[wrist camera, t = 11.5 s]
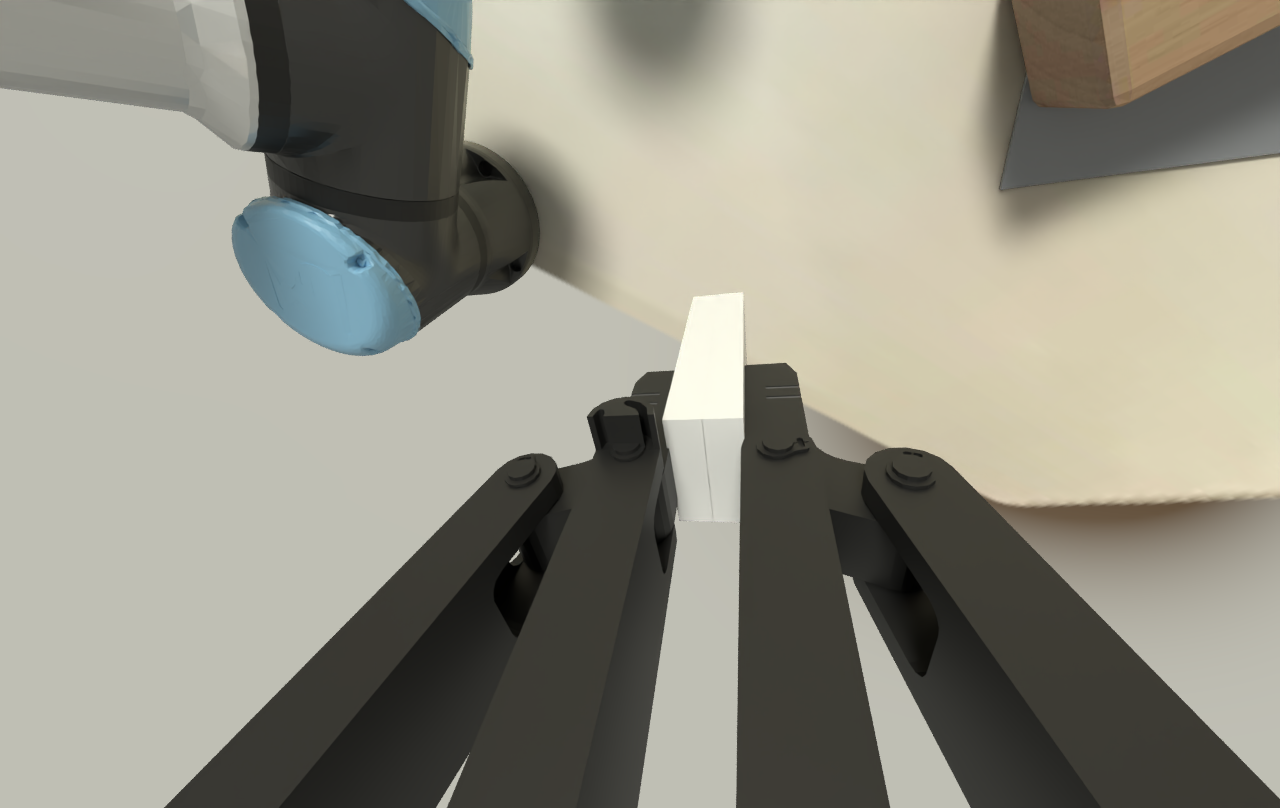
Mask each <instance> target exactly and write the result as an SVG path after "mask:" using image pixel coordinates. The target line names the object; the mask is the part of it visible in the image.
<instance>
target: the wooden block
mask: <svg viewBox="0 0 1280 808" xmlns="http://www.w3.org/2000/svg"><path fill="white" fill-rule="evenodd" d="M1011 1H1012V6H1013V10H1014V15H1015V20H1016V25H1017V29H1018V34H1019V39H1020V43H1021V48H1022V53H1023V58H1024V62H1025V67H1026V72H1027V76H1028V81H1029V86H1030V91H1031V95H1032V100H1033V101H1034V102H1035V103H1036V104H1037V105H1038V106H1039V107H1055V108H1092V109H1110V108H1115V107H1121V106H1124V105H1126V104H1128V103H1130V102H1132V101H1134V100H1136V99H1138V98H1140V97H1142V96H1144V95H1146V94H1148V93H1149V92H1151V91H1153V90H1155V89H1157V88H1159V87H1161V86H1163V85H1165V84H1167V83H1169V82H1171V81H1173V80H1175V79H1177V78H1179V77H1181V76H1183V75H1185V74H1186V73H1188V72H1190V71H1192V70H1194V69H1196V68H1198V67H1200V66H1202V65H1204V64H1206V63H1208V62H1210V61H1212V60H1214V59H1216V58H1218V57H1220V56H1222V55H1224V54H1225V53H1227V52H1229V51H1231V50H1233V49H1235V48H1237V47H1239V46H1241V45H1243V44H1245V43H1247V42H1249V41H1251V40H1253V39H1255V38H1257V37H1259V36H1261V35H1262V34H1264V33H1266V32H1268V31H1270V30H1272V29H1274V28H1276V27H1278V26H1280V0H1011Z"/></svg>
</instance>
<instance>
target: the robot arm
mask: <svg viewBox="0 0 1280 808" xmlns="http://www.w3.org/2000/svg"><path fill="white" fill-rule="evenodd" d="M471 30H472V0H0V88H4V89H11V90H19V91H27V92H34V93H42V94H50V95H57V96H65V97H73V98H81V99H88V100H96V101H104V102H112V103H119V104H127V105H134V106H142V107H149V108H157V109H165V110H173V111H180V112H184V113H185V114H187V115H189V116H191V117H193V118H195V119H196V120H198V121H199V122H200V123H202V124H203V125H204V126H205V127H207V128H208V129H209V130H210V131H212V132H213V133H214V134H216V135H217V136H218V137H219V138H221V139H222V140H223V141H225V142H226V143H227V144H228V145H230V146H231V147H232V148H234V149H238V150H243V151H252V152H263V153H264V154H265V161H266V167H267V174H268V181H269V187H270V197H262V198H258V199H255V200H253V201H252V202H251V203H249V205H248V206H247V207H245V208H244V210H243V213H242V214H240V215H238V216H237V217H236V218H235V221H234V223H233V226H232V244H233V249H234V253H235V256H236V259H237V261H238V264H239V266H240V268H241V271H242V272H243V274H244V276H245V278H246V280H247V281H248V283H249V284H250V286H251V287H252V288H253V290H254V291H255V293H256V294H257V295H258V296H259V298H260V299H261V300H262V301H263V302H264V303H265V305H266V306H267V307H268V308H269V309H270V310H272V311H273V312H274V313H275V314H277V315H278V316H279V318H280V319H281V320H282V321H283V322H284V323H286V324H287V325H288V326H289V327H291V328H292V329H293V330H295V331H296V332H298V333H299V334H300V335H302V336H304V337H305V338H307V339H309V340H311V341H312V342H314V343H316V344H318V345H320V346H322V347H325V348H328V349H330V350H333V351H336V352H339V353H343V354H348V355H356V356H366V355H375V354H378V353H382V352H384V351H386V350H388V349H390V348H392V347H393V346H395V345H397V344H398V343H400V342H403V341H406V340H410V339H411V338H413V337H414V336H415V335H416V334H417V332H418V331H420V330H421V329H422V328H423V327H425V326H426V325H428V324H429V323H430V322H432V321H433V320H435V319H436V318H437V317H439V316H440V315H441V314H443V313H444V312H445V311H447V310H448V309H449V308H451V307H452V306H453V305H455V304H456V303H457V302H459V301H460V300H461V299H463V298H464V297H466V296H467V295H481V294H490V293H495V292H498V291H501V290H503V289H505V288H507V287H509V286H510V285H512V284H513V283H514V282H516V281H517V280H518V279H520V278H521V277H522V276H523V275H524V274H525V273H526V272H527V271H528V269H529V268H530V266H531V265H532V263H533V261H534V259H535V256H536V253H537V249H538V244H539V221H538V216H537V211H536V208H535V205H534V202H533V199H532V197H531V195H530V193H529V191H528V189H527V187H526V185H525V184H524V182H523V181H522V179H521V178H520V176H519V175H518V174H517V172H516V171H515V170H514V169H513V168H512V167H511V166H510V165H509V164H508V163H507V162H506V161H505V160H504V159H503V158H501V157H500V156H499V155H497V154H496V153H494V152H493V151H491V150H489V149H488V148H486V147H484V146H481V145H479V144H476V143H473V142H468V141H464V129H465V116H466V104H467V91H468V79H469V69H470V70H472V69H473V58H472V55H471ZM587 419H588V423H589V426H590V430H591V433H592V437H593V441H594V444H595V448H596V452H595V454H594V456H593V459H592V460H589V461H586V462H583V463H580V464H576V465H571V466H567V467H563V468H558V467H557V465H556V463H555V461H554V460H553V459H552V458H551V457H550V456H547V455H544V454H527V455H523V456H519V457H517V458H515V459H513V460H510V461H508V462H507V463H506V464H504V465H503V466H502V467H501V468H499V469H498V470H497V471H496V472H495V473H494V474H493V475H492V476H491V477H490V478H489V479H488V480H487V481H486V482H485V483H484V484H483V485H482V486H481V487H480V488H479V489H478V490H477V491H476V492H475V493H474V494H473V495H472V496H471V497H470V498H469V499H468V500H467V501H466V502H465V504H463V505H462V506H461V507H460V508H459V510H457V511H456V512H455V513H454V515H452V517H451V518H450V519H449V520H448V521H447V522H446V523H445V524H444V525H443V526H442V527H441V528H440V529H439V530H438V531H437V532H436V533H435V534H434V535H433V536H432V537H431V538H430V539H429V540H428V541H427V542H426V543H425V544H424V545H423V546H422V547H421V548H420V549H419V550H418V551H417V552H416V553H415V554H414V555H413V556H412V557H411V558H410V559H409V560H408V561H407V562H406V563H405V564H404V565H403V566H402V567H401V568H400V569H399V570H398V571H397V572H396V573H395V574H394V575H393V576H392V577H391V578H390V579H389V580H388V581H387V582H386V583H385V585H384V586H383V587H381V588H380V589H379V591H378V592H377V593H376V594H375V595H374V596H373V597H372V598H371V599H370V600H369V601H368V602H367V603H366V604H365V605H364V606H363V607H362V608H361V609H360V610H359V611H358V612H357V613H356V614H355V615H354V616H353V617H352V618H351V619H350V620H349V621H348V622H347V623H346V624H345V625H344V626H343V627H342V628H341V629H340V630H339V631H338V632H337V633H336V634H335V635H334V636H333V637H332V638H331V639H330V640H329V641H328V642H327V643H326V644H325V645H324V646H323V647H322V648H321V649H320V650H319V651H318V653H316V654H315V655H314V656H313V657H312V658H311V659H310V660H309V662H308V663H306V664H305V666H304V667H303V668H302V669H301V670H300V671H299V672H298V673H297V674H296V675H295V676H294V677H293V678H292V679H291V680H290V681H289V682H288V683H287V684H286V685H285V686H284V687H283V688H282V689H281V690H280V691H279V692H278V693H277V694H276V695H275V696H274V697H273V698H272V699H271V700H270V701H269V702H268V703H267V704H266V705H265V706H264V707H263V708H262V709H261V710H260V711H259V712H258V713H257V714H256V715H255V716H254V717H253V718H252V719H251V720H250V721H249V722H248V723H247V724H246V725H245V726H244V727H243V728H242V729H241V731H239V732H238V733H237V734H236V735H235V737H234V738H233V739H232V740H231V741H230V742H229V743H228V744H227V745H226V746H225V747H224V748H223V749H222V750H221V751H220V752H219V753H218V754H217V755H216V756H215V757H214V758H213V759H212V760H211V761H210V762H209V763H208V764H207V765H206V766H205V767H204V768H203V769H202V770H201V771H200V772H199V773H198V774H197V775H196V776H195V777H194V778H193V779H192V780H191V781H190V782H189V783H188V784H187V785H186V786H185V787H184V788H183V789H182V790H181V791H180V792H179V793H178V794H177V795H176V796H175V797H174V798H173V799H172V800H171V802H169V803H168V804H167V806H166V807H164V808H436V806H437V805H438V803H439V802H440V800H441V798H442V797H443V795H444V794H445V792H446V790H447V789H448V787H449V786H450V784H451V782H452V781H453V779H454V777H455V776H456V774H457V772H458V771H459V769H460V768H461V766H462V764H463V763H464V761H465V759H466V758H467V756H468V755H469V756H468V759H467V761H466V764H465V766H464V768H463V771H462V773H461V776H460V778H459V780H458V783H457V785H456V788H455V790H454V792H453V795H452V797H451V800H450V802H449V804H448V807H447V808H637V806H638V800H639V793H640V786H641V779H642V773H643V766H644V759H645V752H646V745H647V739H648V732H649V725H650V719H651V712H652V705H653V698H654V692H655V685H656V678H657V671H658V665H659V658H660V650H661V644H662V637H663V631H664V624H665V617H666V610H667V603H668V597H669V589H670V584H671V577H672V570H673V563H674V557H675V550H676V543H677V538H676V530H675V524H674V520H675V514H676V508H677V510H678V515H679V520H680V521H702V522H739V523H740V561H739V562H740V563H739V564H740V565H739V638H738V716H737V717H738V718H737V719H738V720H737V722H738V723H737V724H738V725H737V794H736V795H737V796H736V808H890V805H889V800H888V795H887V790H886V785H885V780H884V775H883V771H882V765H881V761H880V756H879V751H878V746H877V741H876V737H875V731H874V726H873V721H872V716H871V712H870V707H869V702H868V697H867V692H866V687H865V682H864V677H863V672H862V668H861V663H860V658H859V653H858V648H857V643H856V638H855V633H854V628H853V623H852V619H851V614H850V609H849V604H848V599H847V594H846V589H845V584H844V579H843V574H844V575H847V576H850V577H853V580H854V584H855V586H856V588H857V590H858V591H859V593H860V595H861V597H862V599H863V601H864V603H865V605H866V607H867V609H868V611H869V612H870V615H871V617H872V618H873V620H874V622H875V624H876V626H877V628H878V630H879V632H880V634H881V636H882V638H883V640H884V641H885V643H886V645H887V647H888V649H889V651H890V653H891V655H892V657H893V659H894V661H895V663H896V665H897V666H898V668H899V670H900V672H901V674H902V676H903V678H904V680H905V682H906V684H907V686H908V688H909V690H910V692H911V693H912V695H913V697H914V699H915V701H916V703H917V705H918V707H919V709H920V711H921V713H922V715H923V716H924V719H925V720H926V722H927V724H928V726H929V728H930V730H931V732H932V734H933V736H934V738H935V740H936V742H937V744H938V745H939V747H940V749H941V751H942V753H943V755H944V757H945V759H946V761H947V763H948V765H949V767H950V768H951V770H952V772H953V774H954V776H955V778H956V780H957V782H958V784H959V786H960V788H961V790H962V792H963V793H964V795H965V797H966V799H967V801H968V803H969V805H970V807H971V808H1280V799H1279V798H1278V797H1277V796H1276V795H1275V794H1274V793H1273V792H1272V791H1271V790H1270V789H1269V788H1268V787H1267V786H1266V785H1265V784H1264V783H1263V782H1262V781H1261V779H1259V777H1258V776H1257V775H1256V774H1255V773H1254V772H1253V771H1252V770H1250V768H1249V767H1248V766H1247V765H1246V764H1245V763H1244V762H1243V761H1242V760H1241V759H1240V758H1239V757H1238V756H1237V755H1236V754H1235V753H1234V752H1233V751H1232V750H1231V749H1230V748H1229V747H1228V746H1227V745H1226V744H1225V743H1224V742H1223V741H1222V740H1221V739H1220V738H1219V737H1218V736H1217V735H1216V734H1215V733H1214V732H1213V731H1212V730H1211V729H1210V728H1209V727H1208V726H1207V725H1206V724H1205V723H1204V722H1203V721H1202V720H1201V719H1200V718H1199V717H1198V716H1197V715H1196V713H1195V712H1194V711H1193V710H1192V709H1191V708H1190V707H1189V706H1188V705H1187V704H1186V703H1185V702H1184V701H1183V700H1182V699H1181V698H1180V697H1179V696H1178V695H1177V694H1176V693H1175V692H1174V691H1173V690H1172V689H1171V688H1170V687H1169V686H1168V685H1167V684H1166V683H1165V682H1164V681H1163V680H1162V679H1161V678H1160V677H1159V676H1158V675H1157V674H1156V673H1155V672H1154V671H1153V670H1152V669H1151V668H1150V667H1149V666H1148V665H1147V664H1146V663H1145V662H1144V661H1143V660H1142V659H1141V658H1140V657H1139V656H1138V655H1137V654H1136V653H1135V652H1134V651H1133V649H1132V648H1131V647H1129V646H1128V644H1127V643H1126V642H1125V641H1124V640H1123V639H1122V638H1121V637H1120V636H1119V635H1118V634H1117V633H1116V632H1115V631H1114V630H1113V629H1112V628H1111V627H1110V626H1109V625H1108V624H1107V623H1106V622H1105V621H1104V620H1103V619H1102V618H1101V617H1100V616H1099V615H1098V614H1097V613H1096V612H1095V611H1094V610H1093V609H1092V608H1091V607H1090V606H1089V605H1088V604H1087V603H1086V602H1085V601H1084V600H1083V599H1082V598H1081V597H1080V596H1079V595H1078V594H1077V593H1076V592H1075V591H1074V590H1073V589H1072V588H1071V587H1070V586H1069V584H1068V583H1066V582H1065V580H1064V579H1062V577H1061V576H1060V575H1059V574H1058V573H1057V572H1056V571H1055V570H1054V569H1053V568H1052V567H1051V566H1050V565H1049V564H1048V563H1047V562H1046V561H1045V560H1044V559H1043V558H1042V557H1041V556H1040V555H1039V554H1038V553H1037V552H1036V551H1035V550H1034V549H1033V548H1032V547H1031V546H1030V545H1029V544H1028V543H1027V542H1026V541H1025V540H1024V539H1023V538H1022V537H1021V536H1020V535H1019V534H1018V533H1017V532H1016V531H1015V530H1014V529H1013V528H1012V527H1011V526H1010V525H1009V524H1008V523H1007V522H1006V520H1005V519H1004V518H1003V517H1002V516H1001V515H1000V514H999V513H998V512H997V511H996V510H995V509H994V508H993V507H992V506H991V505H990V504H988V502H987V501H986V500H985V499H984V498H983V497H982V496H981V495H980V494H979V493H978V492H977V491H976V490H975V489H974V488H973V487H972V486H971V485H970V484H969V483H968V482H967V481H966V480H965V479H964V478H963V477H962V476H961V475H960V474H959V473H958V472H957V471H956V470H955V469H954V468H953V467H952V466H951V465H949V464H948V463H947V462H945V461H944V460H943V459H941V458H940V457H937V456H935V455H933V454H930V453H928V452H925V451H922V450H916V449H911V448H888V449H885V450H882V451H879V452H875V453H874V454H873V455H872V456H870V457H869V458H868V459H867V461H866V464H860V463H856V462H851V461H846V460H843V459H839V458H835V457H833V456H830V455H829V454H826V453H824V452H823V451H821V450H820V449H819V448H817V447H816V445H815V444H814V442H813V440H812V438H810V437H809V435H808V430H807V424H806V419H805V414H804V409H803V403H802V398H801V393H800V388H799V383H798V377H797V373H796V372H795V371H794V370H793V369H792V368H791V367H790V366H789V365H787V364H786V363H776V364H759V365H747V357H746V336H745V315H744V293H743V292H739V293H728V294H718V295H707V296H697V297H693V301H692V305H691V309H690V313H689V317H688V321H687V325H686V329H685V332H684V336H683V340H682V344H681V348H680V352H679V356H678V361H677V364H676V368H675V371H659V372H647V373H646V374H645V375H644V376H643V377H641V378H640V379H639V380H638V381H637V382H636V384H635V386H634V389H633V391H632V396H631V397H622V398H616V399H613V400H609V401H607V402H604V403H602V404H600V405H599V406H597V407H595V408H594V409H593V410H592V411H591V412H590V413H589V415H588V416H587ZM518 549H519V552H520V554H519V555H518V556H517V557H516V558H515V559H514V560H513V561H512V562H510V563H509V561H510V560H511V558H512V557H513V556H514V555H515V553H516V552H517V551H518ZM469 753H470V754H469Z"/></svg>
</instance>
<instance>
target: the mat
mask: <svg viewBox="0 0 1280 808" xmlns="http://www.w3.org/2000/svg"><path fill="white" fill-rule="evenodd" d="M1277 153H1280V26H1278V27H1276V28H1274V29H1272V30H1270V31H1268V32H1266V33H1264V34H1262V35H1261V36H1259V37H1257V38H1255V39H1253V40H1251V41H1249V42H1247V43H1245V44H1243V45H1241V46H1239V47H1237V48H1235V49H1233V50H1231V51H1229V52H1227V53H1225V54H1224V55H1222V56H1220V57H1218V58H1216V59H1214V60H1212V61H1210V62H1208V63H1206V64H1204V65H1202V66H1200V67H1198V68H1196V69H1194V70H1192V71H1190V72H1188V73H1186V74H1185V75H1183V76H1181V77H1179V78H1177V79H1175V80H1173V81H1171V82H1169V83H1167V84H1165V85H1163V86H1161V87H1159V88H1157V89H1155V90H1153V91H1151V92H1149V93H1148V94H1146V95H1144V96H1142V97H1140V98H1138V99H1136V100H1134V101H1132V102H1130V103H1128V104H1126V105H1124V106H1121V107H1115V108H1110V109H1092V108H1055V107H1039V106H1038V105H1037V104H1036V103H1035V102H1034V101H1033V100H1032V95H1031V91H1030V86H1029V81H1028V76H1027V72H1026V76H1025V80H1024V84H1023V89H1022V93H1021V97H1020V102H1019V106H1018V110H1017V115H1016V119H1015V123H1014V127H1013V132H1012V136H1011V140H1010V145H1009V149H1008V153H1007V158H1006V162H1005V166H1004V170H1003V175H1002V179H1001V183H1000V188H999V189H1000V190H1003V189H1011V188H1019V187H1026V186H1034V185H1041V184H1049V183H1057V182H1064V181H1072V180H1079V179H1087V178H1095V177H1102V176H1110V175H1117V174H1125V173H1132V172H1140V171H1148V170H1155V169H1163V168H1170V167H1178V166H1186V165H1193V164H1201V163H1208V162H1216V161H1224V160H1231V159H1239V158H1246V157H1254V156H1261V155H1269V154H1277Z"/></svg>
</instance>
